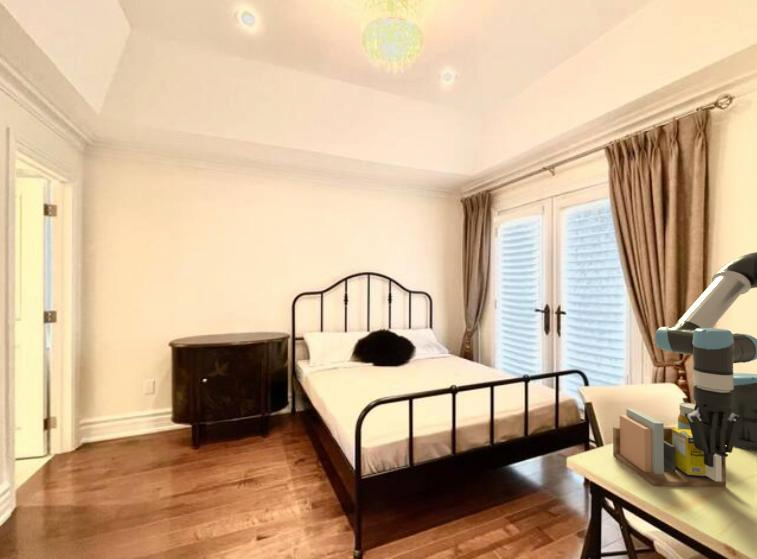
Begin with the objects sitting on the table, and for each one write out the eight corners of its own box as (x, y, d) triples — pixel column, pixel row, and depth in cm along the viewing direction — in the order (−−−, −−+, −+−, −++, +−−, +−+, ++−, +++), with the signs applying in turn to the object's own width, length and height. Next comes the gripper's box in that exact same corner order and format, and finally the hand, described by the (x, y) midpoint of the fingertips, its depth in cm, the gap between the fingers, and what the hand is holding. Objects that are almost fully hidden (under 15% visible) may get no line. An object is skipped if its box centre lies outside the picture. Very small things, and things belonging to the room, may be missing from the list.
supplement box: (711, 479, 92) (711, 438, 92) (687, 477, 92) (687, 437, 92) (694, 467, 98) (694, 429, 98) (671, 465, 98) (671, 428, 98)
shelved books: (634, 454, 105) (634, 408, 105) (663, 474, 94) (663, 423, 94) (619, 453, 105) (619, 408, 105) (647, 473, 94) (647, 423, 94)
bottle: (710, 461, 103) (710, 411, 104) (680, 454, 107) (680, 407, 107) (704, 451, 109) (704, 404, 109) (675, 445, 113) (675, 400, 113)
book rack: (674, 456, 106) (674, 427, 106) (725, 486, 90) (725, 452, 90) (613, 455, 107) (613, 426, 107) (653, 485, 91) (653, 452, 91)
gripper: (723, 383, 92) (724, 470, 92) (675, 383, 92) (676, 470, 92) (753, 392, 85) (754, 487, 85) (701, 392, 85) (702, 486, 85)
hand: (713, 478), depth 88 cm, fingers closed
